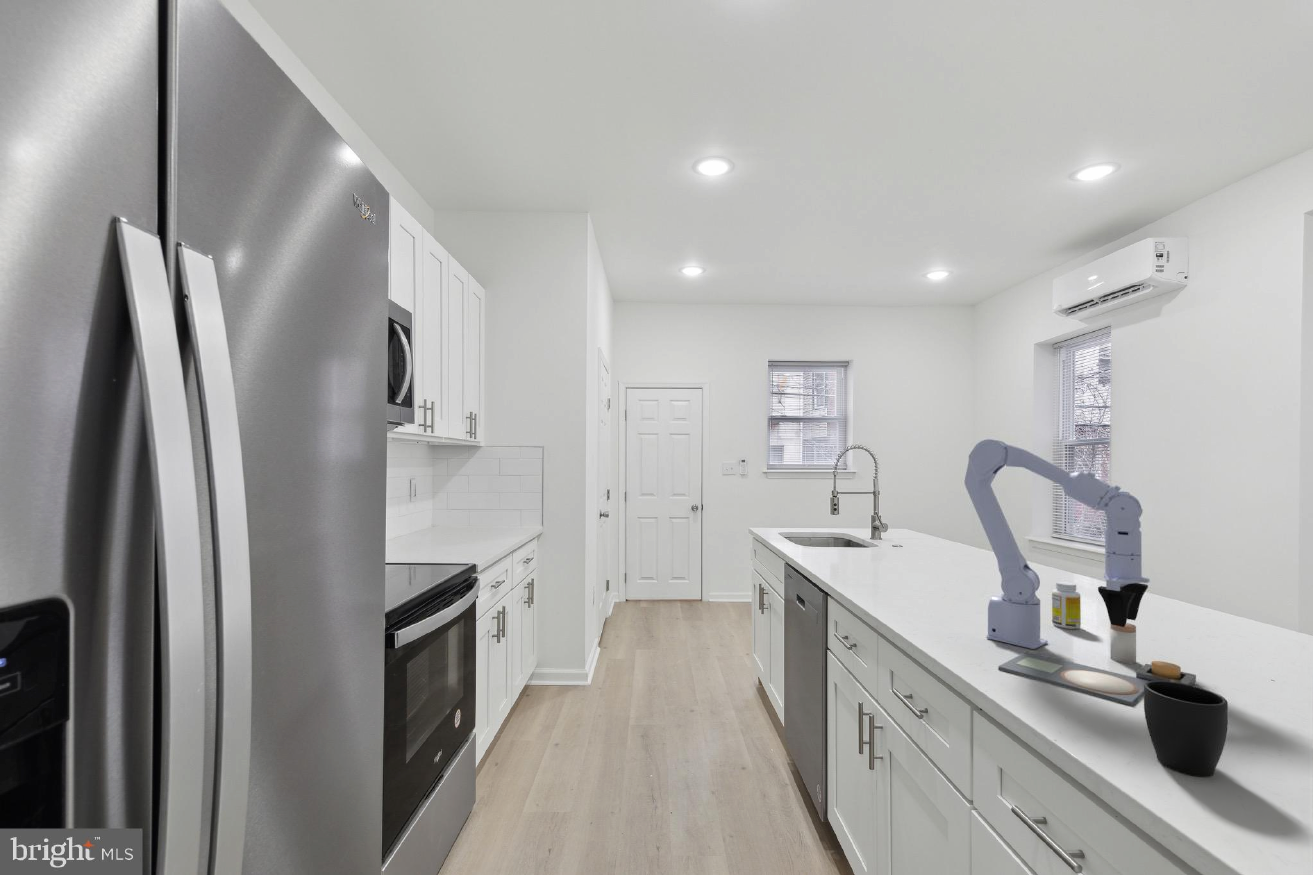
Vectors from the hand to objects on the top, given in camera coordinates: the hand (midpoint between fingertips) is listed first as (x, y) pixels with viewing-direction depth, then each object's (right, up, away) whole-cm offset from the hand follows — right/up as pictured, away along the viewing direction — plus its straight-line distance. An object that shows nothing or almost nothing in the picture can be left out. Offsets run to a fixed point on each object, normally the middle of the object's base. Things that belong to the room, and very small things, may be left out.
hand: (1123, 622), depth 118 cm
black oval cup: (-23, -6, -39) cm, 46 cm away
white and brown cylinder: (0, -8, 0) cm, 8 cm away
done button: (-1, -6, -11) cm, 13 cm away
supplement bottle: (+4, -8, +23) cm, 25 cm away
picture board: (-17, -7, -10) cm, 21 cm away
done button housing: (-1, -7, -11) cm, 14 cm away
